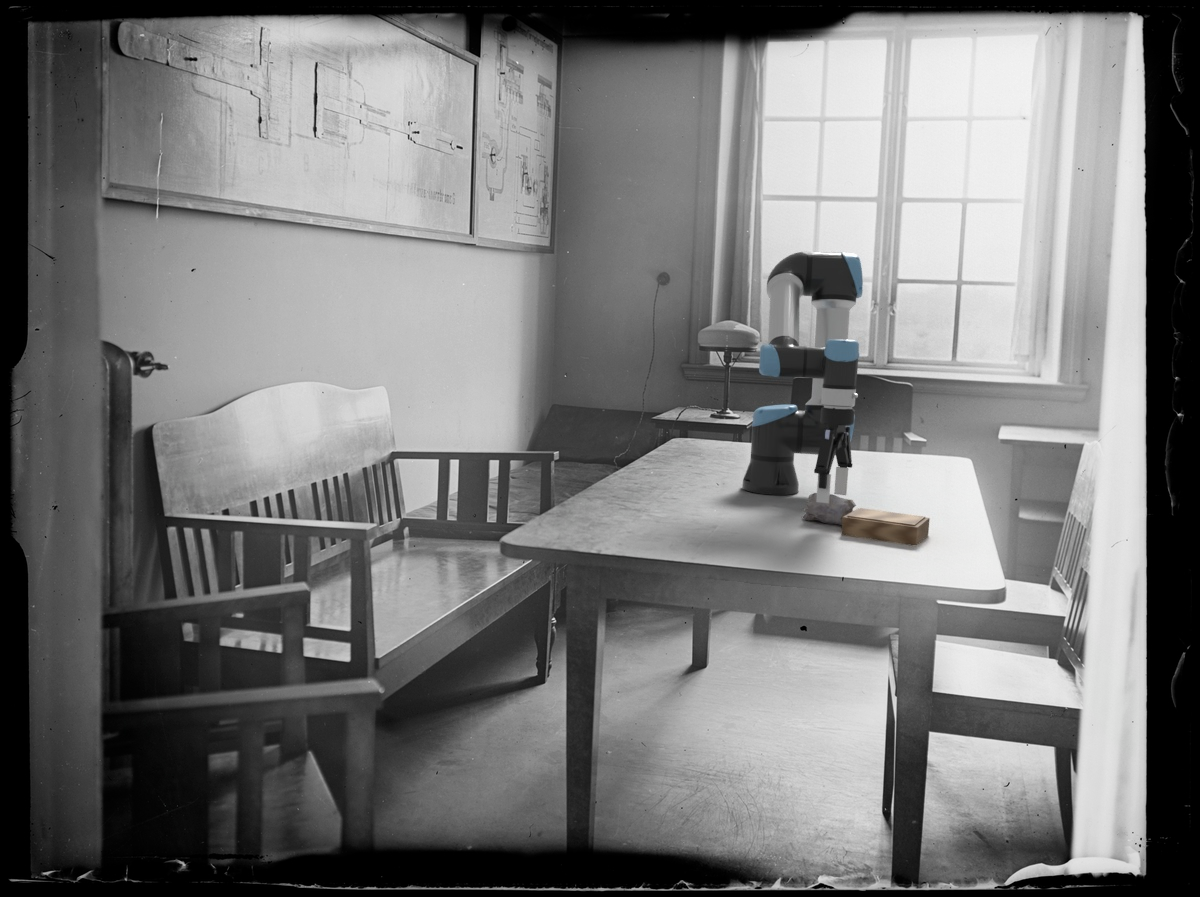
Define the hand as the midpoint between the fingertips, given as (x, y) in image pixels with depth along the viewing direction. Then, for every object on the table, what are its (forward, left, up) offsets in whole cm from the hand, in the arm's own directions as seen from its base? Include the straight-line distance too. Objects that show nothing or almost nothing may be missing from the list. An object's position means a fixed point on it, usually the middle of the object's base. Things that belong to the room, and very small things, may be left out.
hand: (831, 498), depth 222 cm
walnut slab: (+14, -5, -6) cm, 16 cm away
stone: (-1, 0, -6) cm, 6 cm away
